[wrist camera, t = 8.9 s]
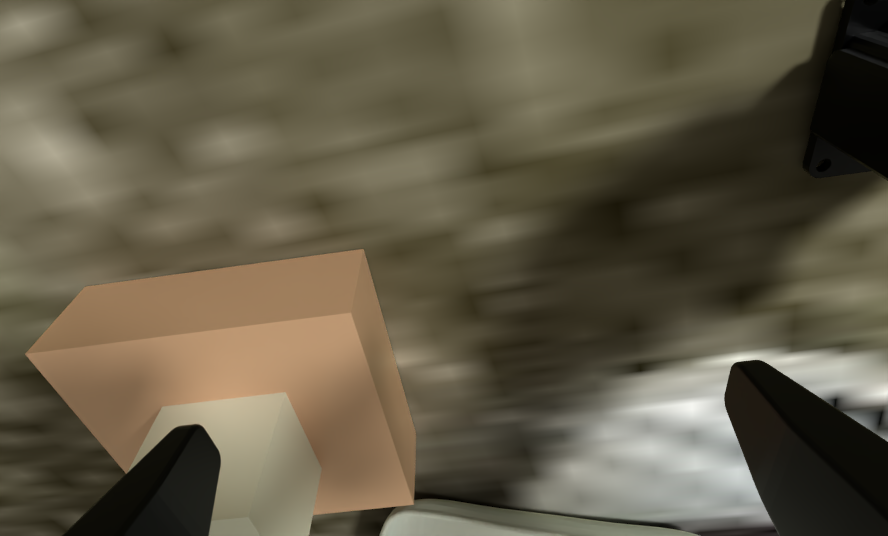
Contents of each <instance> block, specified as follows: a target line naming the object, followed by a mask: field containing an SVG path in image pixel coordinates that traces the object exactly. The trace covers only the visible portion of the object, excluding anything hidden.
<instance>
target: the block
mask: <svg viewBox="0 0 888 536" xmlns="http://www.w3.org/2000/svg"><path fill="white" fill-rule="evenodd" d="M190 424H200V425H202V426H203V427H204V428H205V430H206V431H207V433H208V434H209V436H210V438H211V439H212V441H213V442H214V444H215V445H216V447H217V448H218V450H219V453H220V456H221V467H220V473H219V479H218V484H217V490H216V496H215V502H214V508H213V514H212V519H211V525H210V531H209V536H309V532H310V527H311V522H312V516H313V511H314V506H315V501H316V496H317V491H318V486H319V480H320V475H321V470H322V468H321V466H320V464H319V462H318V459H317V457H316V455H315V453H314V451H313V449H312V447H311V445H310V443H309V441H308V438H307V436H306V434H305V432H304V430H303V428H302V426H301V424H300V422H299V419H298V417H297V415H296V413H295V411H294V409H293V407H292V405H291V403H290V401H289V398H288V396H287V394H286V392H283V393H274V394H266V395H257V396H249V397H240V398H231V399H223V400H214V401H206V402H197V403H189V404H180V405H171V406H163V407H162V408H161V410H160V412H159V414H158V415H157V417H156V419H155V421H154V423H153V425H152V427H151V429H150V431H149V432H148V434H147V436H146V438H145V440H144V442H143V444H142V446H141V447H140V449H139V451H138V453H137V455H136V457H135V459H134V461H133V463H132V464H131V466H130V468H129V470H128V472H129V471H130V470H131V469H132V468H133V467H134V466H135V465H136V464H137V463H138V462H139V461H140V460H141V459H142V458H143V457H144V456H145V455H146V454H147V453H148V452H149V451H150V450H151V449H153V448H154V447H155V446H156V445H157V444H158V443H159V442H160V441H161V440H162V439H163V438H164V437H165V436H166V435H167V434H168V433H169V432H170V431H171V430H172V429H174V428H175V427H178V426H182V425H190ZM128 472H127V473H128Z"/></svg>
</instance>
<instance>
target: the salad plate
mask: <svg viewBox="0 0 888 536" xmlns="http://www.w3.org/2000/svg"><path fill="white" fill-rule="evenodd" d="M379 536H699V535H696V534H693V533H689V532H685V531H680V530H675V529H669V528H662V527H652V526H641V525H631V524H621V523H612V522H605V521H597V520H590V519H583V518H575V517H568V516H561V515H553V514H544V513H535V512H527V511H519V510H511V509H503V508H495V507H489V506H482V505H475V504H470V503H464V502H458V501H452V500H442V499H418V500H414V505H407V506H398V507H396V508H395V509H394V510H393V511H392V512H391V513H390V514H389V516H388V517H387V519H386V520H385V523H384V525H383V527H382V529H381V532H380V535H379Z"/></svg>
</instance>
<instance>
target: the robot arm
mask: <svg viewBox="0 0 888 536" xmlns="http://www.w3.org/2000/svg"><path fill="white" fill-rule="evenodd" d="M810 129H811V134H810V138H809V142H808V146H807V149H806V153H805V157H804V161H803V169H804V171H805V172H807V173H808V174H810V175H811V176H813V177H815V178H823V177H831V176H838V175H845V174H853V173H860V172H867V171H873V172H875V173H876V174H878V175H879V176H881V177H883V178H884V179H886V180H887V181H888V0H867V1H866V2H863V0H846V1H845V5H844V9H843V13H842V16H841V20H840V24H839V28H838V32H837V35H836V39H835V43H834V47H833V51H832V54H831V56H830V58H829V59H828V62H827V66H826V70H825V74H824V77H823V81H822V85H821V89H820V93H819V97H818V100H817V104H816V108H815V112H814V116H813V120H812V123H811V127H810ZM823 159H825V160H824V162H823V163H822V164H821V165H820V166H818V167H816V166H817V164H818V163H819V162H820V161H821V160H823ZM724 401H725V407H726V410H727V413H728V415H729V418H730V421H731V423H732V426H733V428H734V431H735V434H736V436H737V439H738V441H739V444H740V447H741V449H742V452H743V454H744V457H745V460H746V462H747V465H748V467H749V470H750V473H751V475H752V478H753V480H754V483H755V485H756V488H757V490H758V493H759V495H760V497H761V500H762V502H763V504H764V506H765V508H766V510H767V512H768V514H769V516H770V518H771V520H772V522H773V524H774V526H775V528H776V530H777V532H778V534H779V536H888V442H887V441H886V440H884V439H883V438H881V437H880V436H878V435H876V434H875V433H873V432H872V431H870V430H869V429H867V428H866V427H864V426H863V425H861V424H860V423H858V422H856V421H855V420H853V419H852V418H850V417H849V416H847V415H846V414H844V413H843V412H841V411H840V410H838V409H836V408H835V407H833V406H832V405H830V404H829V403H827V402H826V401H824V400H823V399H821V398H819V397H818V396H816V395H815V394H813V393H812V392H810V391H809V390H807V389H806V388H804V387H803V386H801V385H799V384H798V383H796V382H795V381H793V380H792V379H790V378H789V377H787V376H786V375H784V374H782V373H781V372H779V371H778V370H776V369H775V368H773V367H772V366H770V365H769V364H767V363H765V362H763V361H760V360H751V361H743V362H736V363H734V364H733V366H732V367H731V370H730V374H729V379H728V383H727V387H726V391H725V397H724ZM220 467H221V456H220V453H219V450H218V448H217V447H216V445H215V444H214V442H213V441H212V439H211V438H210V436H209V434H208V433H207V431H206V430H205V428H204V427H203V426H202V425H200V424H190V425H182V426H178V427H175V428H174V429H172V430H171V431H170V432H169V433H168V434H167V435H166V436H165V437H164V438H163V439H162V440H161V441H160V442H159V443H158V444H157V445H156V446H155V447H154V448H153V449H151V450H150V451H149V452H148V453H147V454H146V455H145V456H144V457H143V458H142V459H141V460H140V461H139V462H138V463H137V464H136V465H135V466H134V467H133V468H132V469H131V470H130V471H129V472H128V473H127V474H126V475H125V476H124V477H122V478H121V479H120V480H119V481H118V482H117V483H116V484H115V485H114V486H113V487H112V488H111V489H110V490H109V491H108V492H107V493H106V494H105V495H104V496H103V497H102V498H101V499H100V500H99V501H98V502H97V503H96V504H95V505H93V506H92V507H91V508H90V509H89V510H88V511H87V512H86V513H85V514H84V515H83V516H82V517H81V518H80V519H79V520H78V521H77V522H76V523H75V524H74V525H73V526H72V527H71V528H70V529H69V530H68V531H67V532H66V533H64V534H63V535H62V536H209V531H210V525H211V519H212V514H213V508H214V502H215V496H216V490H217V484H218V479H219V473H220Z"/></svg>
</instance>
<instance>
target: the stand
mask: <svg viewBox="0 0 888 536" xmlns="http://www.w3.org/2000/svg"><path fill="white" fill-rule="evenodd" d="M25 355H26V356H27V357H28V358H29V359H30V361H31V362H32V363H33V364H34V365H35V367H36V368H37V369H38V370H39V371H40V372H41V374H42V375H43V376H44V377H45V378H46V380H47V381H48V382H49V383H50V384H51V385H52V387H53V388H54V389H55V390H56V391H57V393H58V394H59V395H60V396H61V397H62V398H63V400H64V401H65V402H66V403H67V404H68V406H69V407H70V408H71V409H72V410H73V411H74V413H75V414H76V415H77V416H78V417H79V419H80V420H81V421H82V422H83V423H84V424H85V426H86V427H87V428H88V429H89V430H90V432H91V433H92V434H93V435H94V436H95V437H96V439H97V440H98V441H99V442H100V443H101V445H102V446H103V447H104V448H105V449H106V450H107V452H108V453H109V454H110V455H111V456H112V458H113V459H114V460H115V461H116V462H117V463H118V465H119V466H120V467H121V468H122V469H123V471H124V472H125V473H126V474H127V472H128V470H129V468H130V466H131V464H132V463H133V461H134V459H135V457H136V455H137V453H138V451H139V449H140V447H141V446H142V444H143V442H144V440H145V438H146V436H147V434H148V432H149V431H150V429H151V427H152V425H153V423H154V421H155V419H156V417H157V415H158V414H159V412H160V410H161V408H162V407H163V406H171V405H180V404H189V403H197V402H206V401H214V400H223V399H231V398H240V397H249V396H257V395H266V394H274V393H283V392H286V394H287V396H288V398H289V401H290V403H291V405H292V407H293V409H294V411H295V413H296V415H297V417H298V419H299V422H300V424H301V426H302V428H303V430H304V432H305V434H306V436H307V438H308V441H309V443H310V445H311V447H312V449H313V451H314V453H315V455H316V457H317V459H318V462H319V464H320V466H321V468H322V470H321V475H320V480H319V486H318V491H317V496H316V501H315V506H314V511H313V515H316V514H326V513H336V512H346V511H356V510H367V509H377V508H387V507H397V506H407V505H414V489H415V457H416V432H415V428H414V425H413V421H412V418H411V414H410V411H409V407H408V404H407V400H406V397H405V393H404V389H403V386H402V382H401V379H400V375H399V372H398V368H397V365H396V361H395V358H394V354H393V351H392V347H391V344H390V340H389V337H388V333H387V330H386V326H385V323H384V319H383V316H382V312H381V309H380V305H379V302H378V298H377V294H376V291H375V287H374V284H373V280H372V277H371V273H370V270H369V266H368V263H367V259H366V256H365V252H364V249H359V250H352V251H344V252H337V253H330V254H322V255H315V256H307V257H300V258H293V259H285V260H278V261H271V262H263V263H256V264H248V265H241V266H234V267H226V268H219V269H212V270H204V271H197V272H190V273H182V274H175V275H167V276H160V277H153V278H145V279H138V280H131V281H123V282H116V283H109V284H101V285H94V286H86V287H84V288H83V290H82V291H81V292H80V293H79V294H78V295H77V296H76V297H75V299H74V300H73V301H72V302H71V303H70V304H69V305H68V306H67V308H66V309H65V310H64V311H63V312H62V313H61V314H60V315H59V316H58V318H57V319H56V320H55V321H54V322H53V323H52V324H51V325H50V327H49V328H48V329H47V330H46V331H45V332H44V333H43V334H42V336H41V337H40V338H39V339H38V340H37V341H36V342H35V343H34V345H33V346H32V347H31V348H30V349H29V350H28V351H27V352H26V353H25Z"/></svg>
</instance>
